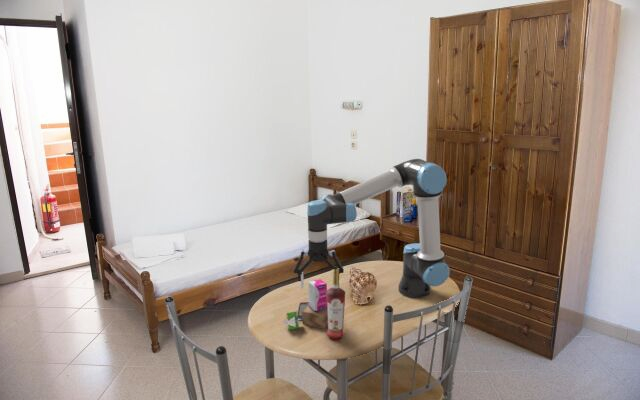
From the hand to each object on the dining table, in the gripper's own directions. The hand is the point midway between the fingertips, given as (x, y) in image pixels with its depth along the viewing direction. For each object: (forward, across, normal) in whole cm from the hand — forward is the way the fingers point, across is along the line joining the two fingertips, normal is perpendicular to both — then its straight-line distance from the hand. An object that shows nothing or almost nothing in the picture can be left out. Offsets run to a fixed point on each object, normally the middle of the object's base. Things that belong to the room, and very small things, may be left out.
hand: (319, 288), depth 189 cm
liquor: (+15, -7, +12) cm, 20 cm away
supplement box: (+9, +1, 0) cm, 9 cm away
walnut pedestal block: (+15, +1, 0) cm, 15 cm away
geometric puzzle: (+15, +11, +6) cm, 19 cm away
